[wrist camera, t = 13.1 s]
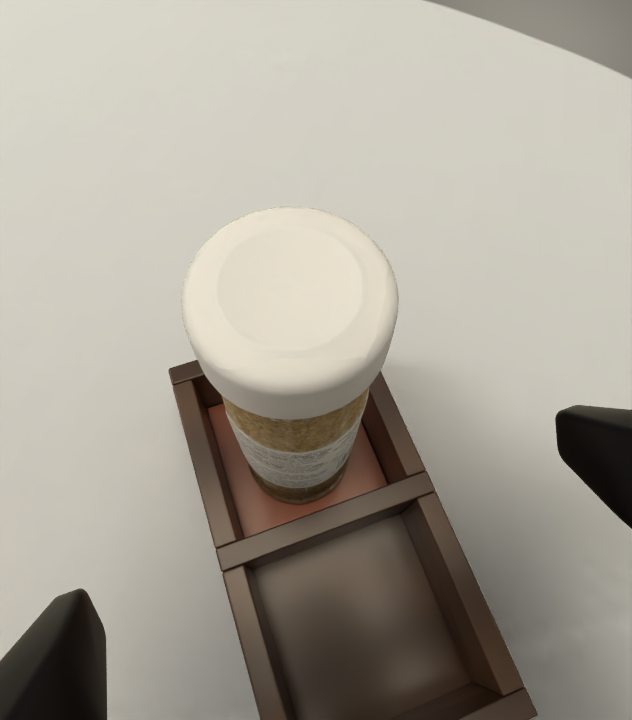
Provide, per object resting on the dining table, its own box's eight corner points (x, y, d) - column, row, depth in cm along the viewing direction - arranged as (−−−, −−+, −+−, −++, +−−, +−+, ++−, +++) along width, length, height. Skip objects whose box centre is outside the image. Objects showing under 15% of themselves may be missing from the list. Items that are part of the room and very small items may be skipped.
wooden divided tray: (494, 694, 19) (538, 715, 16) (293, 787, 18) (290, 834, 14) (346, 353, 26) (353, 310, 22) (188, 403, 24) (167, 368, 21)
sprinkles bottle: (285, 387, 24) (264, 167, 12) (369, 440, 23) (442, 258, 11) (224, 469, 22) (127, 311, 10) (313, 529, 21) (323, 436, 9)
